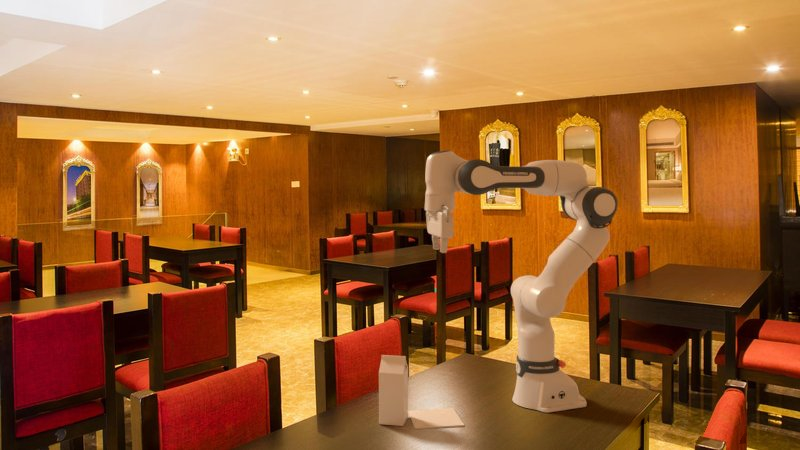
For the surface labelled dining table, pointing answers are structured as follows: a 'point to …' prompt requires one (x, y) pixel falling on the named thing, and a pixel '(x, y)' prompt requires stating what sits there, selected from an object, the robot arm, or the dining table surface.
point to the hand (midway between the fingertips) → (439, 251)
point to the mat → (435, 418)
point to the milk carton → (393, 390)
